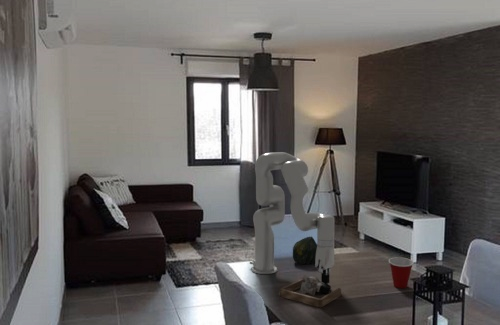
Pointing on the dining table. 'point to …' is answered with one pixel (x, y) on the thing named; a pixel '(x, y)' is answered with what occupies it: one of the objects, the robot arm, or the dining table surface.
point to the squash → (305, 251)
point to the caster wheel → (314, 285)
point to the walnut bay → (321, 302)
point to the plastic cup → (400, 271)
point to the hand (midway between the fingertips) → (325, 282)
